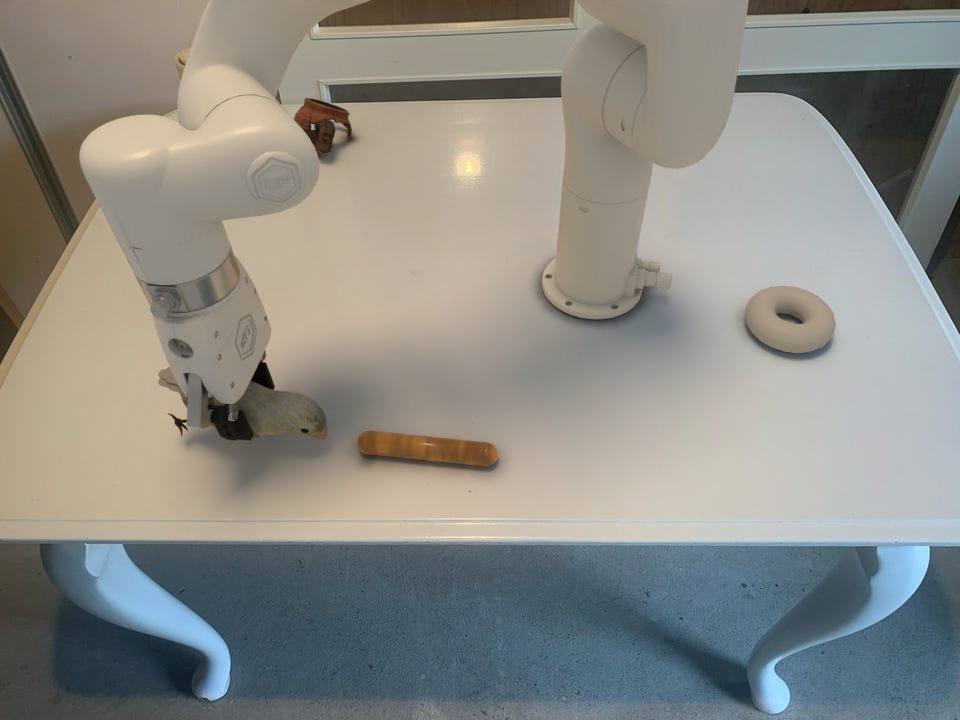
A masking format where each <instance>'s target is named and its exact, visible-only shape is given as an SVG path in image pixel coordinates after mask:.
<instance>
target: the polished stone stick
mask: <svg viewBox="0 0 960 720" xmlns="http://www.w3.org/2000/svg"><path fill="white" fill-rule="evenodd" d="M356 445H357V448H358V451H360V452H361V453H363V454H365V455H369V456H380V457H390V458H399V459H400V458H401V459H409V460H420V461H430V462H439V463H449V464H459V465H460V464H461V465H469V466H479V467H490V466H492V465H493V464H495V463H496V462H497V460H498V456H499V452H498V449H497V447H496V446H495V444H494V443H491V442H488V441H479V440H469V439H459V438H448V437H438V436H430V435H429V436H428V435H418V434H410V433H409V434H407V433H397V432H387V431H379V430H378V431H377V430H365V431H363V432H362V433H360V434H359V436H358V438H357V440H356Z"/></svg>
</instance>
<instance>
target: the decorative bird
mask: <svg viewBox="0 0 960 720" xmlns="http://www.w3.org/2000/svg"><path fill="white" fill-rule="evenodd" d="M157 376H158V378H159V379H158V386H160V387H163V388H164V387H165V388H167V389H168V390H170V391H171V392H176V393H178V394H179V396H180V397H181V401H182V403H183V404H184V406H185V407H186V408H187V401H188V398H187V397H186V395H185V394H184V393H183V391H182V390H181V388H180V387H179V385H178V383H177V381H176V379H175V377H174V375H173V373H172V371H171V368H170V366H168V367H166V368H165V369H164V368H163V369H161V370H160V371H159V372H158V374H157ZM213 399H214V404H215V406H216V405H219V406H225V404H223V403H221V402H219V401H218V400H217V399H215V398H213ZM237 407H238V410H241V411H243V412H244V414H245V416H246V418H247V421H248V423H249V425H250V427H251V430H252V432H253V438H252V439H257V438H261V437H267V436H269V435H270V436H273V435H274V436H275V435H279V434H285V433H286V432H288V433H293V434H296V435H301V436H307V437H311V438H314V439H317V440H326V439H327V435H328V425H327V424H328V423H327V416H326V414H325V412H324V410H323V409H322V407H321V406H320V405H319V404H318V402H316V401H315V400H314V399H313V398H311V397H309V396H307V395H305V394H303V393H299V392H293V391H285V390H277V389H274V390H272V389H268V388H266V387H264V386H262V385H260V384H257V383H255V382H253V381H250V383H249V385H248V387H247V389H246V391H245V392H244V394H243V395H242V397H241V398H240V399H239V400H238V401H237ZM167 414H168V415H169V416H170V417H172V419H173V420H174V421H173V422H174V425H175V426H176V427H177V428H178V430H179V432H180V437H183V434H184V433H183V432H184V430H186V432H188V431H189V430H188V426H186V424H187V418H186V419H181V418H179V417H177V416H176V415H175V414H172V413H169V412H168V413H167ZM210 426H211V427H212V428H214V429H216V427H215V425H214V423H213V424H212V425H210ZM183 429H184V430H183Z"/></svg>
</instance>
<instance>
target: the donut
mask: <svg viewBox="0 0 960 720" xmlns="http://www.w3.org/2000/svg"><path fill="white" fill-rule="evenodd" d="M744 314H745V317H744V318H745V323H746V325H747V327H748V328H749V331H750V332H751V334H752V335H754V336H755V337H756V338H757V339H758V341H760V342H761V343H762V344H765V345H767V346H769V347H770V348H772V349H774V350H778V351H780V352H784V353H793V354H804V353H812V352H814V351H817V350H819V349H821V348H823V347H825V346H826V344H828V343H829V342H830V340H832V338H833V337H834V333H835V330H836V327H837V323H836V318H835V313H834V311H833V310H832V309H831V307H830V306H829V305H828V303H827V302H826V301H824V300H823V299H822V298H821V297H820V296H818V295H817V294H815V293H813V292H811V291H810V290H808V289H803V288H800V287H798V286H792V285H776V286H775V285H773V286H768V287H766V288H763V289H761V290H759V291H758V292H756V293H755V294H754V295H753V296H752V297H750V299H749V300H748V302H747V304H746V307H745V310H744ZM777 314H785V315H789V316H793V317H795V318H796V319H799V321H801V322H802V323H792V322H789V321H787V320H784V319H782V318H781V317H779V316H778V315H777Z"/></svg>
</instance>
